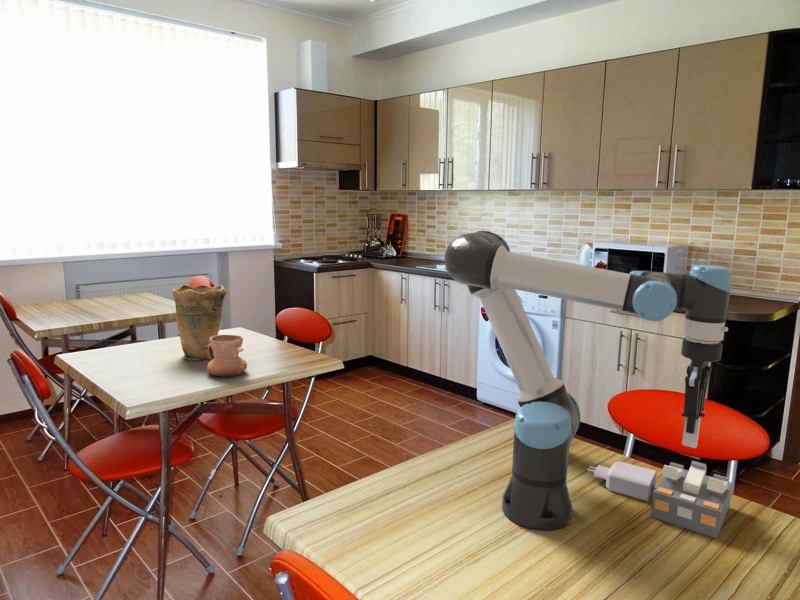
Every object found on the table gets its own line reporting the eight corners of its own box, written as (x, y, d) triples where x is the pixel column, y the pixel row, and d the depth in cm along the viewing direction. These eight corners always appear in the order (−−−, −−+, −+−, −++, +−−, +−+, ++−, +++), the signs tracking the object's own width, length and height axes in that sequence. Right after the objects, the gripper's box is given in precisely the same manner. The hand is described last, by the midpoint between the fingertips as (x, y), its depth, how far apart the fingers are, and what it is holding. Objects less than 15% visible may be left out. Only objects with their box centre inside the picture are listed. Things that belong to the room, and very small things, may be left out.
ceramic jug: (257, 373, 222) (256, 336, 220) (228, 382, 210) (226, 343, 207) (225, 365, 231) (224, 331, 229) (195, 374, 219) (193, 337, 217)
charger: (592, 470, 149) (655, 487, 140) (582, 484, 141) (647, 503, 133) (594, 453, 148) (657, 469, 140) (583, 466, 140) (649, 484, 132)
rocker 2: (698, 495, 124) (698, 486, 123) (682, 490, 126) (683, 481, 125) (706, 472, 130) (706, 464, 129) (691, 468, 132) (691, 460, 131)
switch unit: (716, 539, 119) (720, 509, 118) (650, 517, 126) (653, 488, 125) (729, 507, 132) (733, 479, 130) (668, 489, 139) (671, 462, 138)
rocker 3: (722, 493, 121) (724, 482, 121) (706, 488, 123) (708, 477, 123) (727, 488, 127) (728, 477, 127) (711, 484, 129) (713, 473, 129)
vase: (237, 356, 243) (235, 286, 238) (191, 366, 228) (188, 291, 223) (212, 347, 257) (209, 280, 252) (167, 355, 243) (164, 284, 237)
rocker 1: (676, 480, 126) (677, 469, 126) (661, 475, 128) (663, 465, 128) (682, 476, 133) (684, 465, 133) (668, 472, 134) (670, 461, 135)
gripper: (716, 348, 114) (701, 460, 118) (728, 337, 124) (714, 441, 128) (675, 341, 118) (663, 450, 122) (690, 331, 128) (678, 431, 132)
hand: (689, 445), depth 125 cm, fingers closed
